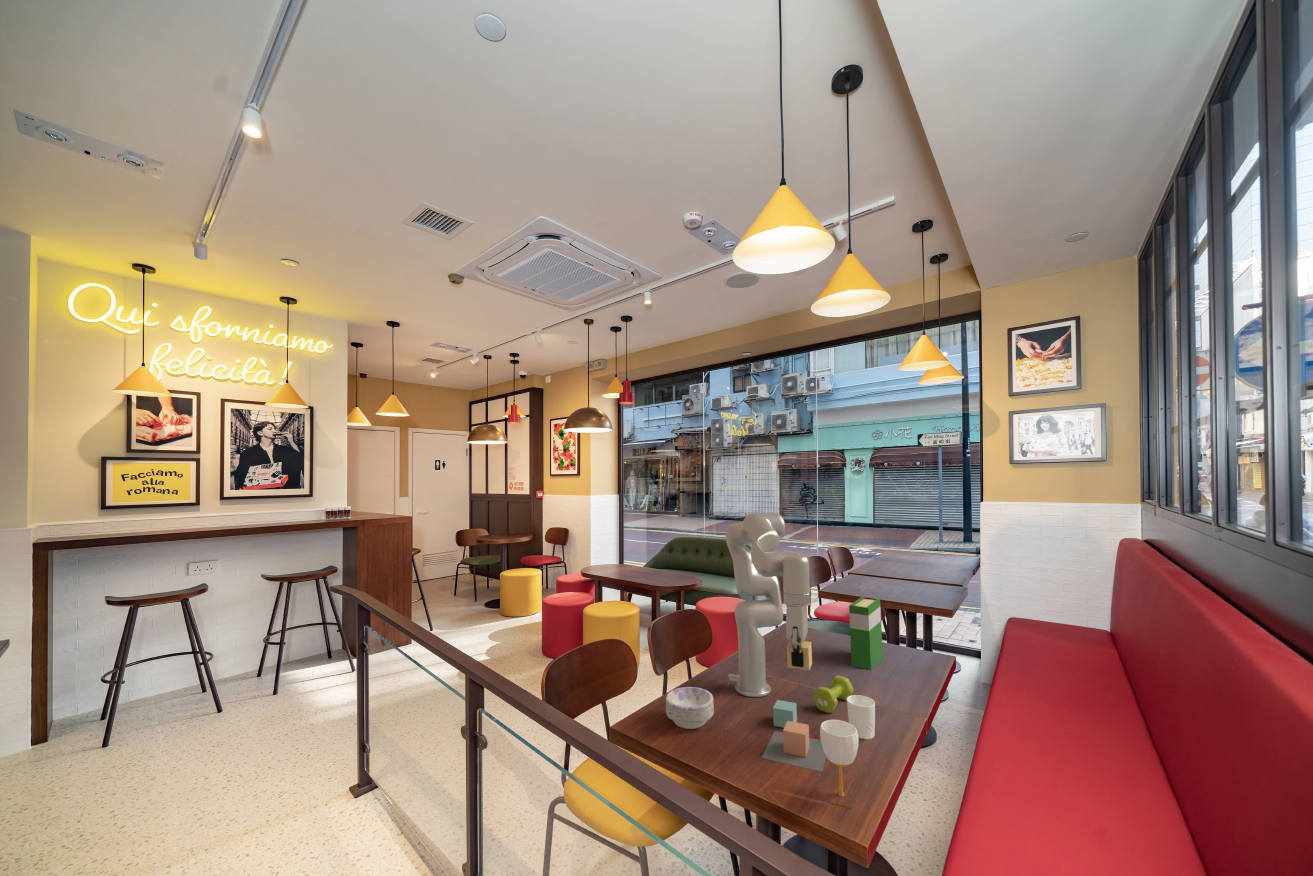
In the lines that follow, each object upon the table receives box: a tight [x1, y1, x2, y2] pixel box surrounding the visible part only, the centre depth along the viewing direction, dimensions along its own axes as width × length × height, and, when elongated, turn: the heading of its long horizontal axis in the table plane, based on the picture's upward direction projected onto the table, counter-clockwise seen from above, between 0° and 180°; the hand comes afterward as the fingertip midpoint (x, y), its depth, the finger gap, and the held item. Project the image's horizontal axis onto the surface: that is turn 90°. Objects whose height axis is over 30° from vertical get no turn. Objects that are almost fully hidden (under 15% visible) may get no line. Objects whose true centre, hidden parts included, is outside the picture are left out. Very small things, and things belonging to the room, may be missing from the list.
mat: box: [761, 730, 827, 773], centre depth 142 cm, size 16×16×1 cm
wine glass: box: [819, 719, 860, 810], centre depth 123 cm, size 9×9×16 cm
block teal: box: [772, 699, 798, 729], centre depth 158 cm, size 6×6×6 cm
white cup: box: [846, 694, 876, 740], centre depth 151 cm, size 8×8×10 cm
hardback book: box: [848, 596, 884, 671], centre depth 210 cm, size 18×7×24 cm, turn 142°
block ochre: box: [786, 639, 813, 671], centre depth 146 cm, size 6×6×6 cm
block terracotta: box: [782, 721, 810, 757], centre depth 142 cm, size 6×6×6 cm
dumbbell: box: [812, 675, 854, 714], centre depth 171 cm, size 16×8×7 cm, turn 135°
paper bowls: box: [665, 686, 715, 730], centre depth 161 cm, size 15×15×8 cm
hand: (799, 661), depth 146 cm, fingers closed on block ochre, 6 cm apart
